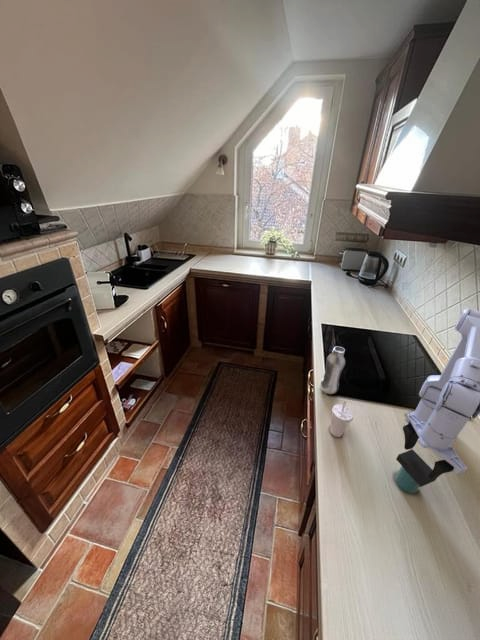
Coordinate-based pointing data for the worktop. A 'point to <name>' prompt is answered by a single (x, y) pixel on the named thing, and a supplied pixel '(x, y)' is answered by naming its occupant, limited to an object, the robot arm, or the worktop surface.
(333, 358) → the plastic bottle
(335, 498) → the worktop surface
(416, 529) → the worktop surface
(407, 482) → the teal cup
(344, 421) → the smoothie
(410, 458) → the black tile
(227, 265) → the worktop surface
